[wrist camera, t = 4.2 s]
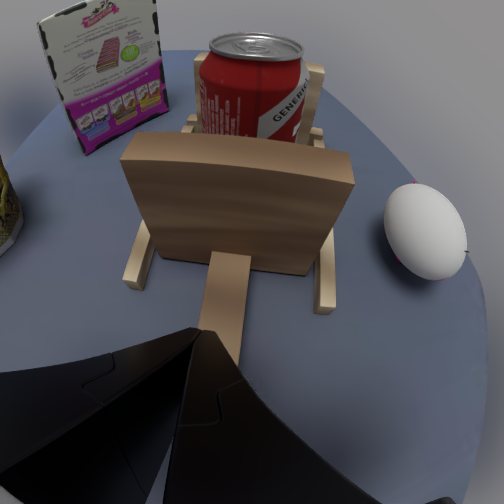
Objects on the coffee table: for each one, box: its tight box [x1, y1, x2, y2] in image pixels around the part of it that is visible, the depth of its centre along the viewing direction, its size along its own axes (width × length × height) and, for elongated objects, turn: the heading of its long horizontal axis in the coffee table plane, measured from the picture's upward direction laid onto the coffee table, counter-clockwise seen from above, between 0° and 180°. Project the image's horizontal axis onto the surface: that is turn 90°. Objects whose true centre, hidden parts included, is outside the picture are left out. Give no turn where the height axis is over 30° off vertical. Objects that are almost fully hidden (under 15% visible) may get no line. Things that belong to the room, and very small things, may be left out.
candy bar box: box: [37, 0, 169, 155], centre depth 19 cm, size 11×5×16 cm, turn 133°
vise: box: [123, 53, 336, 314], centre depth 18 cm, size 18×13×9 cm
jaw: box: [119, 132, 355, 367], centre depth 13 cm, size 9×10×9 cm
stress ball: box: [384, 182, 468, 281], centre depth 17 cm, size 8×8×7 cm
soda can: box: [199, 32, 310, 143], centre depth 17 cm, size 7×7×12 cm
